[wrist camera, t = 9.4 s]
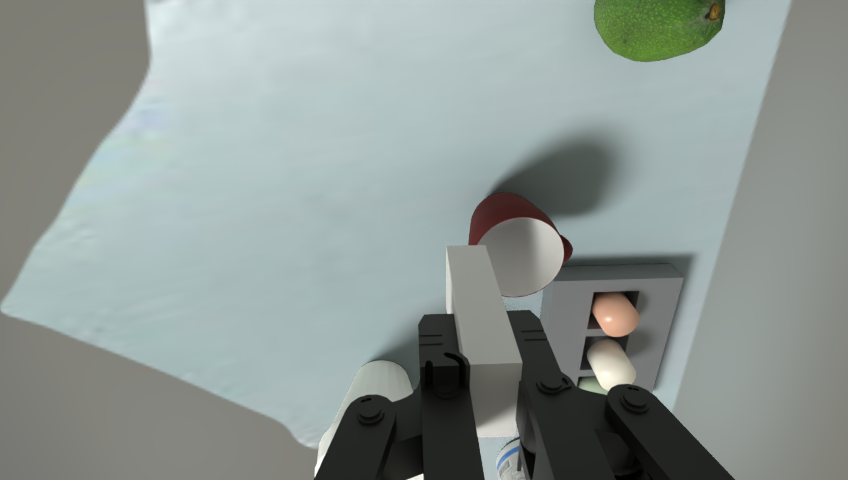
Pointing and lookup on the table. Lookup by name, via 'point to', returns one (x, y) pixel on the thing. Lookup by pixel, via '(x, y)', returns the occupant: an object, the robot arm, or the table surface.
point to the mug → (518, 243)
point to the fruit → (657, 26)
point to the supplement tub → (509, 463)
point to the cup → (370, 381)
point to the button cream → (610, 364)
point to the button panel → (579, 329)
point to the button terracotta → (614, 313)
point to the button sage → (591, 384)
